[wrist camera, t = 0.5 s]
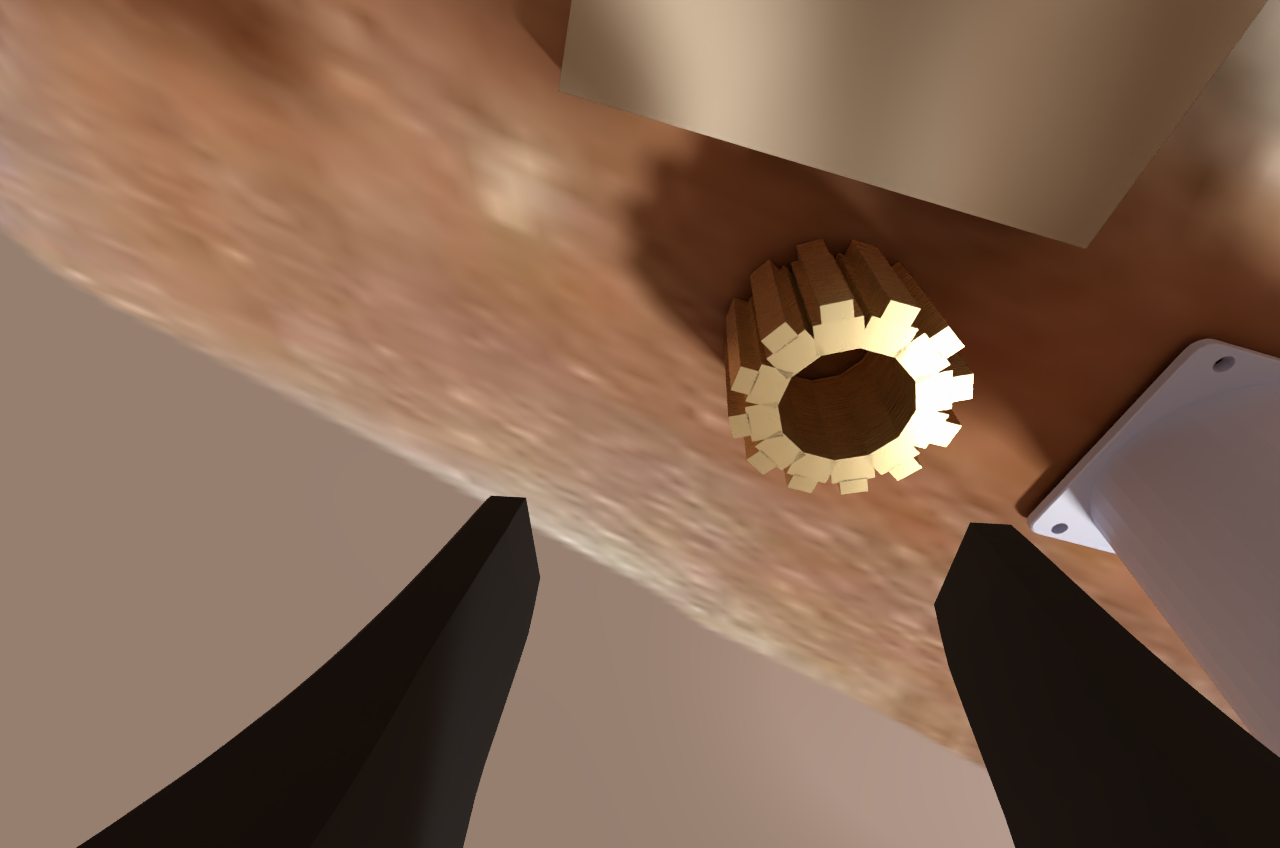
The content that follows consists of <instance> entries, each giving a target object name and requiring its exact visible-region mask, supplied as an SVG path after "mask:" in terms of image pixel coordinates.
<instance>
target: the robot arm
mask: <svg viewBox="0 0 1280 848" xmlns="http://www.w3.org/2000/svg"><path fill="white" fill-rule="evenodd" d="M1223 357H1224V358H1223ZM1221 358H1223V360H1222V361H1220V362H1219V363H1217V364H1215V362H1216V361H1218V360H1219V359H1221ZM1027 524H1028V525H1029V527H1030V528H1031V530H1032V531H1033V532H1035V533H1037V534H1040V535H1044V536H1048V537H1052V538H1056V539H1060V540H1064V541H1068V542H1072V543H1076V544H1079V545H1083V546H1087V547H1091V548H1095V549H1099V550H1103V551H1107V552H1111V553H1115V554H1117V555H1118V557H1119V558H1120V559H1121V561H1122V562H1123V563H1124V565H1125V566H1126V567H1127V569H1128V570H1129V571H1130V573H1131V574H1132V575H1133V577H1134V578H1135V579H1136V581H1137V582H1138V583H1139V585H1140V586H1141V587H1142V589H1143V590H1144V591H1145V593H1146V594H1147V595H1148V597H1149V598H1150V599H1151V601H1152V602H1153V603H1154V605H1155V606H1156V607H1157V609H1158V610H1159V611H1160V613H1161V614H1162V615H1163V617H1164V618H1165V619H1166V621H1167V622H1168V623H1169V625H1170V626H1171V627H1172V629H1173V630H1174V631H1175V633H1176V634H1177V635H1178V637H1179V638H1180V639H1181V641H1182V642H1183V643H1184V645H1185V646H1186V647H1187V649H1188V650H1189V651H1190V653H1191V654H1192V655H1193V657H1194V658H1195V659H1196V661H1197V662H1198V663H1199V665H1200V666H1201V667H1202V669H1203V670H1204V671H1205V673H1206V674H1207V675H1208V677H1209V678H1210V679H1211V681H1212V682H1213V683H1214V685H1215V686H1216V687H1217V689H1218V690H1219V691H1220V693H1221V694H1222V695H1223V697H1224V698H1225V699H1226V701H1227V702H1228V703H1229V705H1230V706H1231V707H1232V709H1233V710H1234V711H1235V713H1236V714H1237V715H1238V717H1239V718H1240V719H1241V721H1242V722H1243V723H1244V725H1245V726H1246V727H1247V729H1248V730H1249V731H1250V732H1251V734H1252V735H1253V736H1254V737H1253V736H1252V735H1250V734H1249V733H1248V732H1247V731H1245V730H1244V729H1243V728H1242V727H1240V726H1239V725H1238V724H1237V723H1235V722H1234V721H1233V720H1232V719H1230V718H1229V717H1228V716H1227V715H1226V714H1224V713H1223V712H1222V711H1221V710H1220V709H1218V708H1217V707H1216V706H1215V705H1214V704H1212V703H1211V702H1210V701H1209V700H1207V699H1206V698H1205V697H1204V696H1203V695H1201V694H1200V693H1199V692H1198V691H1197V690H1195V689H1194V688H1193V687H1192V686H1191V685H1189V684H1188V683H1187V682H1186V681H1184V680H1183V679H1182V678H1181V677H1180V676H1179V675H1177V674H1176V673H1175V672H1174V671H1173V670H1172V669H1170V668H1169V667H1168V666H1167V665H1166V664H1165V663H1163V662H1162V661H1161V660H1160V659H1159V658H1158V657H1156V656H1155V655H1154V654H1153V653H1152V652H1151V651H1150V650H1148V649H1147V648H1146V647H1145V646H1144V645H1143V644H1142V643H1141V642H1139V641H1138V640H1137V639H1136V638H1135V637H1134V636H1133V635H1132V634H1130V633H1129V632H1128V631H1127V630H1126V629H1125V628H1124V627H1123V626H1121V625H1120V624H1119V623H1118V622H1117V621H1116V620H1115V619H1114V618H1113V617H1111V616H1110V615H1109V614H1108V613H1107V612H1106V611H1105V610H1104V609H1103V608H1102V607H1100V606H1099V605H1098V604H1097V603H1096V602H1095V601H1094V600H1093V599H1092V598H1091V597H1090V596H1088V595H1087V594H1086V593H1085V592H1084V591H1083V590H1082V589H1081V588H1080V587H1079V586H1078V585H1077V584H1075V583H1074V582H1073V581H1072V580H1071V579H1070V578H1069V577H1068V576H1067V575H1066V574H1065V573H1064V572H1063V571H1061V570H1060V569H1059V568H1058V567H1057V566H1056V565H1055V564H1054V563H1053V562H1052V561H1051V560H1050V559H1048V558H1047V557H1046V556H1045V555H1044V554H1043V553H1042V552H1041V551H1040V550H1039V549H1038V548H1036V547H1035V546H1034V545H1033V544H1032V543H1031V542H1030V541H1029V540H1028V539H1027V538H1025V537H1024V536H1023V535H1022V534H1021V533H1020V532H1019V531H1017V530H1016V529H1015V528H1014V527H1013V526H1012V525H1005V524H987V523H970V524H969V526H968V529H967V531H966V533H965V536H964V538H963V540H962V542H961V545H960V547H959V549H958V551H957V554H956V556H955V558H954V561H953V563H952V565H951V567H950V570H949V572H948V574H947V576H946V579H945V581H944V583H943V586H942V588H941V590H940V592H939V595H938V597H937V599H936V601H935V604H934V606H935V611H936V615H937V620H938V624H939V629H940V633H941V638H942V642H943V646H944V650H945V654H946V658H947V662H948V666H949V669H950V671H951V674H952V677H953V680H954V683H955V685H956V688H957V691H958V693H959V696H960V699H961V702H962V704H963V707H964V710H965V712H966V715H967V718H968V720H969V723H970V726H971V728H972V731H973V734H974V736H975V739H976V742H977V744H978V747H979V749H980V752H981V755H982V757H983V760H984V763H985V765H986V768H987V771H988V773H989V776H990V778H991V781H992V784H993V786H994V789H995V791H996V794H997V797H998V800H999V802H1000V805H1001V808H1002V810H1003V813H1004V815H1005V818H1006V821H1007V824H1008V827H1009V830H1010V833H1011V836H1012V839H1013V842H1014V845H1015V848H1280V358H1277V357H1274V356H1270V355H1267V354H1263V353H1260V352H1257V351H1253V350H1250V349H1246V348H1243V347H1239V346H1236V345H1233V344H1229V343H1226V342H1222V341H1219V340H1215V339H1202V340H1198V341H1196V342H1194V343H1192V344H1190V345H1189V346H1188V347H1187V348H1185V349H1184V350H1183V351H1182V353H1181V354H1180V355H1179V356H1178V357H1177V358H1176V359H1175V360H1174V361H1173V362H1172V363H1171V364H1170V365H1169V366H1168V367H1167V369H1166V370H1165V371H1164V372H1163V373H1162V374H1161V375H1160V376H1159V377H1158V378H1157V379H1156V380H1155V381H1154V382H1153V384H1152V385H1151V386H1150V387H1149V388H1148V389H1147V390H1146V391H1145V392H1144V393H1143V394H1142V395H1141V396H1140V397H1139V398H1138V400H1137V401H1136V402H1135V403H1134V404H1133V405H1132V406H1131V407H1130V408H1129V409H1128V410H1127V411H1126V412H1125V413H1124V414H1123V416H1122V417H1121V418H1120V419H1119V420H1118V421H1117V422H1116V423H1115V424H1114V425H1113V426H1112V427H1111V428H1110V429H1109V430H1108V432H1107V433H1106V434H1105V435H1104V436H1103V437H1102V438H1101V439H1100V440H1099V441H1098V442H1097V443H1096V444H1095V445H1094V447H1093V448H1092V449H1091V450H1090V451H1089V452H1088V453H1087V454H1086V455H1085V456H1084V457H1083V458H1082V459H1081V460H1080V461H1079V463H1078V464H1077V465H1076V466H1075V467H1074V468H1073V469H1072V470H1071V471H1070V472H1069V473H1068V474H1067V475H1066V476H1065V477H1064V479H1063V480H1062V481H1061V482H1060V483H1059V484H1058V485H1057V486H1056V487H1055V488H1054V489H1053V490H1052V491H1051V492H1050V494H1049V495H1048V496H1047V497H1046V498H1045V499H1044V500H1043V501H1042V502H1041V503H1040V504H1039V505H1038V506H1037V507H1036V508H1035V510H1034V511H1033V512H1032V513H1031V514H1030V515H1029V516H1028V518H1027ZM1056 524H1058V525H1056ZM539 581H540V574H539V569H538V563H537V557H536V552H535V546H534V540H533V535H532V529H531V524H530V518H529V512H528V507H527V501H526V498H521V497H503V496H490V497H489V498H488V499H487V500H486V501H485V502H484V503H483V504H482V505H481V506H480V507H479V509H478V510H477V511H476V512H475V513H474V514H473V515H472V516H471V517H470V519H469V520H468V521H467V522H466V523H465V524H464V525H463V526H462V528H461V529H460V530H459V531H458V532H457V533H456V534H455V535H454V537H453V538H452V539H451V540H450V541H449V542H448V543H447V544H446V545H445V546H444V547H443V548H442V549H441V551H440V552H439V553H438V554H437V555H436V556H435V557H434V558H433V559H432V560H431V561H430V562H429V563H428V564H427V566H425V568H424V569H423V570H422V571H421V572H420V573H419V574H418V575H417V576H416V577H415V578H414V579H413V580H412V581H411V582H410V583H409V584H408V585H407V586H406V587H405V588H404V589H403V590H402V591H401V592H400V593H399V594H398V596H396V598H394V599H393V600H392V601H391V602H390V603H389V605H388V606H386V607H385V608H384V609H383V610H382V611H381V612H380V613H379V614H378V615H377V616H376V617H375V618H374V619H373V620H372V621H371V622H370V623H369V624H367V625H366V626H365V627H364V628H363V629H362V630H361V631H360V632H359V633H358V634H357V635H356V636H355V637H354V638H353V639H352V640H351V641H350V642H349V643H347V644H346V645H345V646H344V647H343V648H342V649H341V650H340V651H339V652H337V654H335V655H334V656H333V657H332V658H331V659H330V660H328V661H327V662H326V663H325V664H324V665H323V666H322V667H321V668H319V669H318V670H317V671H316V672H315V673H314V674H312V675H311V676H310V677H309V678H308V679H306V680H305V681H304V682H303V683H302V684H300V686H298V687H297V688H296V689H295V690H293V691H292V692H291V693H290V694H289V695H287V696H286V697H285V698H284V699H283V700H281V701H280V702H279V703H278V704H276V705H275V706H274V707H272V708H271V709H270V710H269V711H267V712H266V713H265V714H263V715H262V716H261V717H260V718H258V719H257V720H256V721H254V722H253V723H252V724H251V725H250V726H248V727H247V728H246V729H244V730H243V731H242V732H240V733H239V734H238V735H237V736H235V737H234V738H233V739H231V740H230V741H229V742H227V743H226V744H225V745H224V746H222V747H221V748H220V749H218V750H217V751H216V752H214V753H213V754H212V755H210V756H209V757H207V758H206V759H205V760H203V761H202V762H201V763H199V764H198V765H196V766H195V767H194V768H192V769H191V770H190V771H188V772H187V773H185V774H184V775H182V776H181V777H179V778H178V779H177V780H175V781H174V782H172V783H171V784H169V785H168V786H166V787H165V788H164V789H162V790H161V791H159V792H158V793H156V794H155V795H153V796H152V797H150V798H149V799H148V800H146V801H145V802H143V803H142V804H140V805H139V806H137V807H136V808H135V809H133V810H132V811H130V812H129V813H127V814H126V815H125V816H123V817H122V818H120V819H119V820H117V821H116V822H114V823H113V824H111V825H110V826H108V827H107V828H105V829H104V830H102V831H101V832H99V833H98V834H96V835H95V836H93V837H92V838H90V839H89V840H87V841H86V842H84V843H83V844H81V845H80V846H78V847H77V848H463V845H464V841H465V837H466V833H467V829H468V824H469V821H470V816H471V812H472V808H473V804H474V800H475V796H476V792H477V789H478V786H479V782H480V778H481V775H482V772H483V769H484V765H485V762H486V759H487V756H488V753H489V750H490V747H491V744H492V741H493V738H494V735H495V732H496V730H497V727H498V724H499V721H500V718H501V715H502V712H503V709H504V706H505V703H506V700H507V697H508V694H509V691H510V688H511V685H512V682H513V679H514V676H515V673H516V670H517V667H518V664H519V661H520V658H521V655H522V652H523V649H524V646H525V643H526V639H527V636H528V633H529V628H530V624H531V619H532V615H533V610H534V606H535V601H536V596H537V590H538V586H539Z"/></svg>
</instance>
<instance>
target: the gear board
mask: <svg viewBox="0 0 1280 848" xmlns="http://www.w3.org/2000/svg"><path fill="white" fill-rule="evenodd" d="M1267 1H1268V0H572V1H571V8H570V15H569V22H568V29H567V35H566V42H565V49H564V56H563V63H562V69H561V76H560V83H559V90H558V91H559V92H563V93H566V94H569V95H573V96H576V97H579V98H583V99H586V100H590V101H593V102H596V103H600V104H603V105H606V106H610V107H613V108H616V109H620V110H623V111H626V112H630V113H633V114H636V115H640V116H643V117H646V118H650V119H653V120H656V121H660V122H663V123H666V124H670V125H673V126H676V127H680V128H683V129H686V130H690V131H693V132H697V133H700V134H703V135H707V136H710V137H713V138H717V139H720V140H723V141H727V142H730V143H733V144H737V145H740V146H743V147H747V148H750V149H753V150H757V151H760V152H763V153H767V154H770V155H773V156H777V157H780V158H783V159H787V160H790V161H793V162H797V163H800V164H804V165H807V166H810V167H814V168H817V169H820V170H824V171H827V172H830V173H834V174H837V175H840V176H844V177H847V178H850V179H854V180H857V181H860V182H864V183H867V184H870V185H874V186H877V187H880V188H884V189H887V190H890V191H894V192H897V193H900V194H904V195H907V196H911V197H914V198H917V199H921V200H924V201H927V202H931V203H934V204H937V205H941V206H944V207H947V208H951V209H954V210H957V211H961V212H964V213H967V214H971V215H974V216H977V217H981V218H984V219H987V220H991V221H994V222H997V223H1001V224H1004V225H1007V226H1011V227H1014V228H1017V229H1021V230H1024V231H1028V232H1031V233H1034V234H1038V235H1041V236H1044V237H1048V238H1051V239H1054V240H1058V241H1061V242H1064V243H1068V244H1071V245H1074V246H1078V247H1081V248H1084V249H1086V248H1087V247H1088V246H1089V244H1090V243H1091V241H1092V240H1093V239H1094V237H1095V236H1096V235H1097V233H1098V232H1099V231H1100V229H1101V228H1102V226H1103V225H1104V224H1105V222H1106V221H1107V220H1108V218H1109V217H1110V216H1111V214H1112V213H1113V211H1114V210H1115V209H1116V207H1117V206H1118V205H1119V203H1120V202H1121V201H1122V199H1123V198H1124V196H1125V195H1126V194H1127V192H1128V191H1129V190H1130V188H1131V187H1132V185H1133V184H1134V183H1135V181H1136V180H1137V179H1138V177H1139V176H1140V175H1141V173H1142V172H1143V170H1144V169H1145V168H1146V166H1147V165H1148V164H1149V162H1150V161H1151V160H1152V158H1153V157H1154V155H1155V154H1156V153H1157V151H1158V150H1159V149H1160V147H1161V146H1162V144H1163V143H1164V142H1165V140H1166V139H1167V138H1168V136H1169V135H1170V134H1171V132H1172V131H1173V129H1174V128H1175V127H1176V125H1177V124H1178V123H1179V121H1180V120H1181V119H1182V117H1183V116H1184V114H1185V113H1186V112H1187V110H1188V109H1189V108H1190V106H1191V105H1192V104H1193V102H1194V101H1195V99H1196V98H1197V97H1198V95H1199V94H1200V93H1201V91H1202V90H1203V88H1204V87H1205V86H1206V84H1207V83H1208V82H1209V80H1210V79H1211V78H1212V76H1213V75H1214V73H1215V72H1216V71H1217V69H1218V68H1219V67H1220V65H1221V64H1222V63H1223V61H1224V60H1225V58H1226V57H1227V56H1228V54H1229V53H1230V52H1231V50H1232V49H1233V47H1234V46H1235V45H1236V43H1237V42H1238V41H1239V39H1240V38H1241V37H1242V35H1243V34H1244V32H1245V31H1246V30H1247V28H1248V27H1249V26H1250V24H1251V23H1252V22H1253V20H1254V19H1255V17H1256V16H1257V15H1258V13H1259V12H1260V11H1261V9H1262V8H1263V6H1264V5H1265V4H1266V2H1267Z"/></svg>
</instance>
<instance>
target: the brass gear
mask: <svg viewBox="0 0 1280 848" xmlns="http://www.w3.org/2000/svg"><path fill="white" fill-rule="evenodd" d="M796 247H797V255H798V261H794V262H791V266H792V273H793V274H792V273H791V271H790V270H789V269H788V268H787V267H786V266H785V265H784V266H783V267H782V268H781V269H780V270H779V269H778V268H777V267H776V266H775V265H774V264H773V263H772V261H771V260H770V259H768V260H767V261H766V262H765V263H763V264H762V265H761V266H760V267H759V268H758V269H756V270H755V271H754V272H753V273H752V274H750V281H751V287H752V293H753V296H750V298H749V301H748V302H747V301H744V300H740V299H736V298H733V300H732V303H731V306H730V308H729V311H728V314H727V316H726V331H727V342H724V356H725V372H726V388H727V404H728V418H729V422H730V426H731V431H732V435H733V438H739V437H744V440H745V450H746V460H747V461H748V462H749V463H751V464H752V465H753V466H754V467H755V468H756V469H757V470H758V471H760V472H761V473H762V474H763V475H764V474H765V473H767V472H768V471H770V470H771V469H773V468H775V467H776V466H777V467H778V468H779V469H780V470H783V469H784V472H785V477H786V483H787V487H789V488H793V489H797V490H801V491H805V492H809V493H812V491H813V489H814V488H815V486H816V484H817V483H818V481H819V482H823V483H826V481H827V479H828V478H829V476H830V478H831V481H832V483H838V485H839V489H840V492H841V495H842V494H849V493H856V492H863V491H868V486H867V478H874V477H875V472H874V468H875V469H876V470H877V471H878V472H879V473H880V474H881V475H883V474H884V473H886V472H888V471H889V472H890V473H891V474H892V475H893V476H894V477H895V478H896V480H897V481H899V480H901V479H902V478H904V477H906V476H908V475H910V474H911V473H913V472H915V471H917V470H919V469H921V468H922V466H921V464H920V462H919V460H918V458H917V455H918V454H920V453H919V450H918V448H917V447H920V448H924V449H925V448H926V447H927V446H928V444H929V443H932V444H936V445H939V446H943V447H947V445H948V444H949V443H950V441H951V440H952V438H953V437H954V436H955V434H956V433H957V432H958V430H959V429H960V428H961V426H962V425H961V424H960V422H959V421H958V419H957V417H956V416H955V414H954V412H953V411H952V402H956V401H962V400H968V399H972V394H973V373H972V371H971V370H970V368H969V367H968V366H967V364H966V363H965V362H964V360H963V359H962V358H961V356H960V355H959V353H958V352H957V351H959V350H961V349H962V348H964V347H965V346H964V345H963V344H962V342H961V341H960V340H959V338H958V337H957V336H956V334H955V333H954V332H953V331H952V329H951V328H950V327H949V325H948V324H947V323H946V321H945V320H944V319H943V317H942V316H941V315H940V313H939V312H938V311H937V310H936V308H935V307H934V306H933V304H932V303H931V302H930V300H929V299H928V298H927V296H926V295H925V294H924V292H923V291H922V290H921V288H920V287H919V286H918V285H917V283H916V282H915V281H914V279H913V278H912V277H911V275H910V274H909V273H908V272H907V270H906V269H905V268H904V267H903V265H902V264H901V263H900V262H899V261H898V262H897V263H896V264H894V265H893V266H892V267H891V266H890V264H889V263H888V262H887V260H886V259H885V257H884V256H883V255H882V253H881V252H880V250H879V249H878V248H877V246H874V245H870V244H867V243H864V242H860V241H857V240H853V239H852V241H851V243H850V245H849V248H848V250H847V252H846V254H845V255H844V254H840V253H838V254H837V256H836V259H834V257H833V255H832V253H829V251H828V249H827V247H826V245H825V243H824V241H823V239H820V240H815V241H811V242H807V243H803V244H798V245H796ZM859 348H862V349H865V350H868V351H867V353H866V354H865V356H864V358H863V359H862V360H861V361H859V362H858V363H856V364H855V365H853V366H852V367H850V368H849V369H847V370H846V371H844V372H843V373H842V374H840V375H837V376H832V377H826V378H821V379H816V380H808V379H804V378H801V377H797V376H794V375H795V374H797V373H798V372H800V371H801V370H802V369H804V368H805V367H807V366H808V365H809V364H811V363H812V362H814V361H815V360H816V359H818V358H819V357H821V356H822V355H828V354H833V353H838V352H843V351H848V350H854V349H859Z"/></svg>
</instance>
